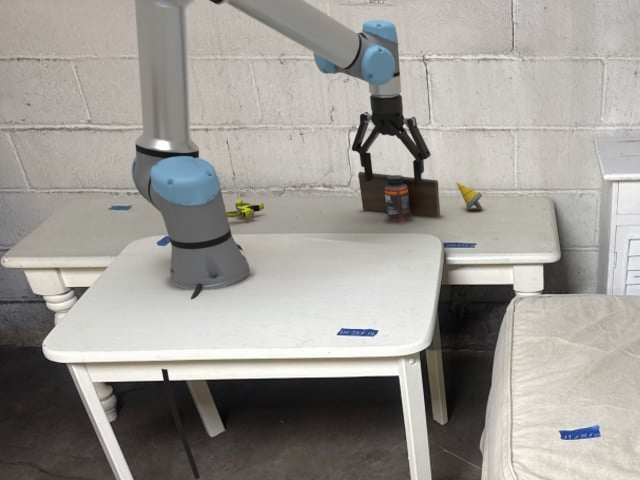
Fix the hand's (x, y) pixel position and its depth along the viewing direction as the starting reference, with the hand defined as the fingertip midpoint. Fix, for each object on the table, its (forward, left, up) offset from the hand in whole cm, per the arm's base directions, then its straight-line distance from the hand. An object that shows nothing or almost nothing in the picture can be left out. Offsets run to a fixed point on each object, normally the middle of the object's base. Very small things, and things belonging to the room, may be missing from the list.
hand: (393, 183), depth 185 cm
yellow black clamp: (-10, +39, -10) cm, 41 cm away
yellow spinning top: (+14, -15, -10) cm, 23 cm away
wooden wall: (+6, +2, -10) cm, 12 cm away
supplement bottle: (0, 0, -10) cm, 10 cm away
